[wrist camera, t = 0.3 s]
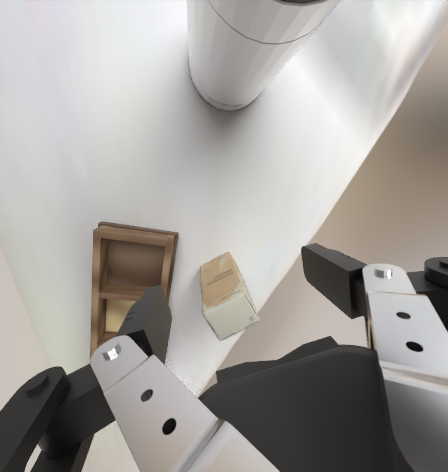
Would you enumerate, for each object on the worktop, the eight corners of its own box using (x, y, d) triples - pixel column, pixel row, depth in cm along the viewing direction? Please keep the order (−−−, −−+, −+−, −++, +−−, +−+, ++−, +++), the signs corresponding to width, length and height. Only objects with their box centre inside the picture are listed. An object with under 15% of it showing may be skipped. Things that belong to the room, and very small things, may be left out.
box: (228, 250, 31) (247, 291, 21) (240, 272, 33) (263, 320, 22) (198, 267, 31) (201, 315, 21) (211, 288, 33) (220, 343, 22)
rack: (101, 221, 27) (89, 228, 24) (178, 232, 29) (176, 240, 26) (96, 372, 34) (85, 393, 31) (158, 373, 36) (155, 393, 33)
